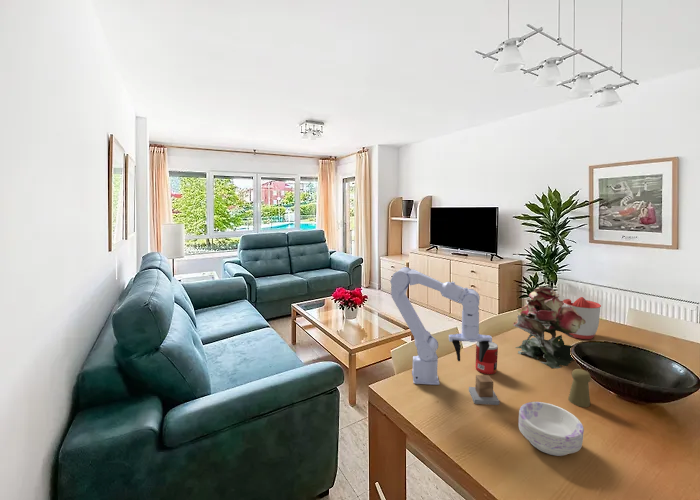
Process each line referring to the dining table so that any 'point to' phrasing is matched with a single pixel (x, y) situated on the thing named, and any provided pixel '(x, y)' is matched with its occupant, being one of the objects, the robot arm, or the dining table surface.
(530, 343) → the rose bouquet
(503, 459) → the dining table surface
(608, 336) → the dining table surface
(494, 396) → the slate slab
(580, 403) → the olive green pawn
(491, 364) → the canned food
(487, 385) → the walnut block
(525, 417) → the paper bowls
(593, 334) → the citrus juicer
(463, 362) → the dining table surface
